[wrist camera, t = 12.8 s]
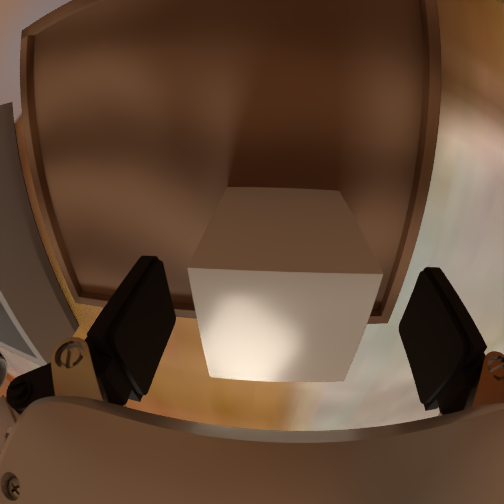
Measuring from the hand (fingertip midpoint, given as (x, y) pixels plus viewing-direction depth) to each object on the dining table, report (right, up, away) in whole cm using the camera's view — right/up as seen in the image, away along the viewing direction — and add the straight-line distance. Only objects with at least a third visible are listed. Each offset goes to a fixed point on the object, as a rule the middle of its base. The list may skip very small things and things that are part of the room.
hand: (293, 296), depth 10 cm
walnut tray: (-4, +6, +2) cm, 7 cm away
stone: (0, +2, +3) cm, 4 cm away
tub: (-25, +3, +6) cm, 26 cm away
